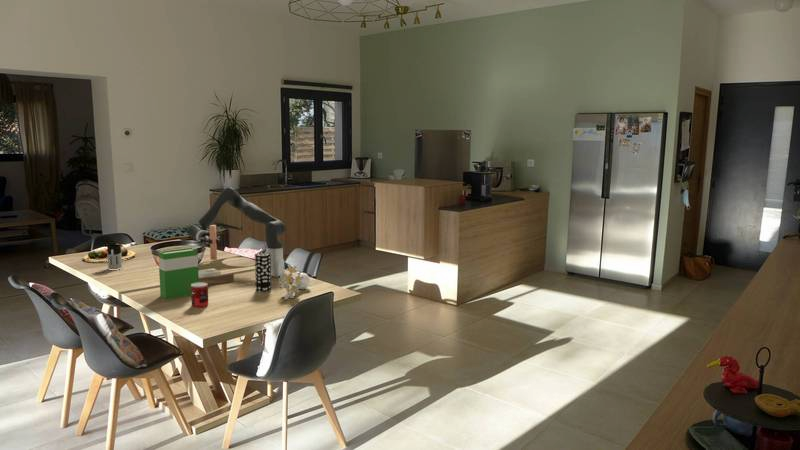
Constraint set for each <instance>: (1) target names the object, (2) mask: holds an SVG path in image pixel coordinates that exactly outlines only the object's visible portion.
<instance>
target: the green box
mask: <svg viewBox="0 0 800 450" xmlns="http://www.w3.org/2000/svg"><path fill="white" fill-rule="evenodd" d="M198 251H199V250H198V249H193V247H186V248H177V249H169V250H162V251H158V269H159V271H158V272H159V273H158V274H159V290H160V291H159V293H160V297H161V298H162V299H164V300H171V299H177V298H183V297H188V296H191V284H193V283H198V282H199V276H198V270H199V254H198Z"/></svg>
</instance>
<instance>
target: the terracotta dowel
mask: <svg viewBox="0 0 800 450" xmlns="http://www.w3.org/2000/svg"><path fill="white" fill-rule="evenodd" d="M209 232H210V239H211V240H212V244H209V248H210V250H209V254H210V260H211V261H217V260H218V256H217V253H218V248H217V244H218V243H217V242H216V237H217V225H215V224H213V225H212V224H211V225H210V226H209Z"/></svg>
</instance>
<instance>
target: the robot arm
mask: <svg viewBox="0 0 800 450" xmlns="http://www.w3.org/2000/svg"><path fill="white" fill-rule="evenodd" d="M225 203H226V204H228V205H230V206H232V207H233V208H235V209H237V210H239V211H240V212H241V213H242V214H243V216H245V217H246V218H247V219H249V220H250V221H252V222H254V223H256V224H260V225H264V227H265V228H264V233H265V244H266V246H267V247H266V249H267V252H266V253H269V254H271V278H276V277H278V278H280V277H279V276H281V274H282V270H283V271H284V273H285V259H284V248H283V247H284V244H283V243H284V242H282V241H279V240H278V237H280V236H283V235H284V234H285V233H287V232H286V231H287V228H286V224H285V223H284V222H283V221H281V220H280V219H278V218H277V217H274V216H272V215H271V214H270V213H268V212H266V211H264V209H262V208H260V206H258V205H256V204H255V203H253V202H251V201H247V199H245V198H243V197H242V195H240V193H238V191H237V190H235V189H234V188H233V187H229V186H227V187H225V188H224V189H223V190H222V191H221V192H220V193H219V195H218V197H217V198H216V200H215V201H214V202H213V204H212V205H211V207H210V208H209V209H208V210H207V211H206V213H205V214H203V216H201V218H200V219H199V220H198V224H199V226H201V228H200V227H198V226H197V225H195V224H192V225H189V226H188V227H187V228H186V234H187V235H188V236H189V237H191V239H193V240H194V241H197V243H201V244H204V245H210V244H212V240H211V239H210V231H208V229H209V228H210V225H212V224H213V223H214V222H215V220H216V219H217V218H218V216H219V212H220V211H221V209H222V207H223V205H225ZM216 242H217V244H220V242H221V236H220V235H216ZM285 274H286V273H285ZM272 276H273V277H272Z"/></svg>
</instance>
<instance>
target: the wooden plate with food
mask: <svg viewBox="0 0 800 450" xmlns="http://www.w3.org/2000/svg"><path fill="white" fill-rule="evenodd" d="M95 250H96V249H94V250H93V251H89V252H88V253H87V254H86V255H84V256H83V257H82V259H84V260H87V261H99V262H105V261H106V262H107V261H108V255H107V253H108V250H107V247H105V248H102V249H100V250H98V251H95ZM121 253H122V260H123V259H128V258H131V257H133V256H135V255H136V252H135V251H133V250H128V249H127V248H126V247H125V246H121ZM135 257H136V256H135ZM89 258H90V259H89ZM84 260H83V261H84Z"/></svg>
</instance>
